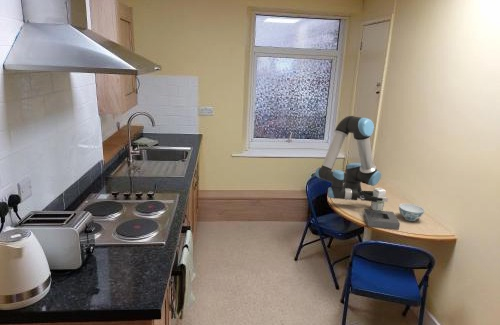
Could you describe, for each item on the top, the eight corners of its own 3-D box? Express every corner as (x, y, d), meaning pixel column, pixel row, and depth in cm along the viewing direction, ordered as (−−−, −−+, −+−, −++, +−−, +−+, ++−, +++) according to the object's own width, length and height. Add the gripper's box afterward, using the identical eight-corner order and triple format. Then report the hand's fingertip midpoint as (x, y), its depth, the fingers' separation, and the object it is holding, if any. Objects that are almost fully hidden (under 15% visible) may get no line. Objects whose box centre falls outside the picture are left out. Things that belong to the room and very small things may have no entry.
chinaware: (401, 212, 234) (402, 201, 232) (425, 218, 225) (427, 207, 223) (394, 218, 222) (395, 207, 220) (418, 226, 213) (421, 214, 211)
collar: (363, 214, 227) (364, 208, 226) (392, 217, 224) (393, 211, 223) (367, 226, 210) (368, 220, 209) (398, 229, 207) (399, 223, 206)
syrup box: (377, 207, 238) (379, 187, 235) (383, 210, 233) (386, 190, 229) (370, 208, 236) (373, 188, 233) (376, 211, 231) (379, 191, 227)
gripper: (348, 194, 246) (382, 197, 242) (352, 205, 227) (388, 208, 223) (350, 184, 244) (383, 187, 240) (353, 194, 225) (390, 197, 221)
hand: (386, 197), depth 232 cm, fingers closed on syrup box, 7 cm apart
